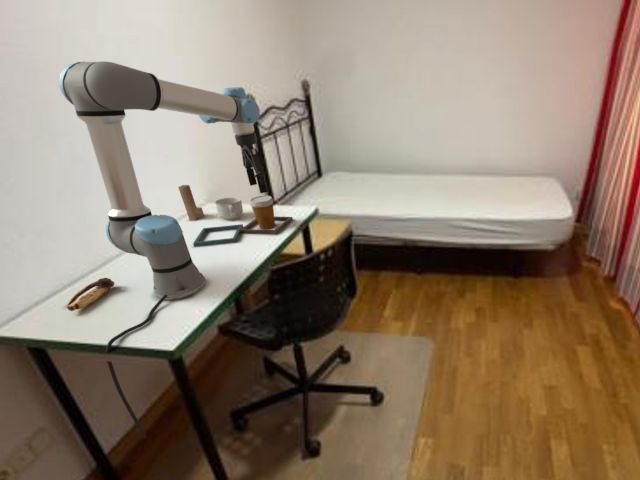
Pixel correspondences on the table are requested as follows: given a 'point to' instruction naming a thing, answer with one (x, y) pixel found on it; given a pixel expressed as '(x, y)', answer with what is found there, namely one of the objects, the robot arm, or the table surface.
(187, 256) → the robot arm
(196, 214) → the wooden block
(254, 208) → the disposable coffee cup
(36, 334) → the table surface
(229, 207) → the teacup
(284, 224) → the right stand
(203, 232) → the left stand
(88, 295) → the bone fish hook
